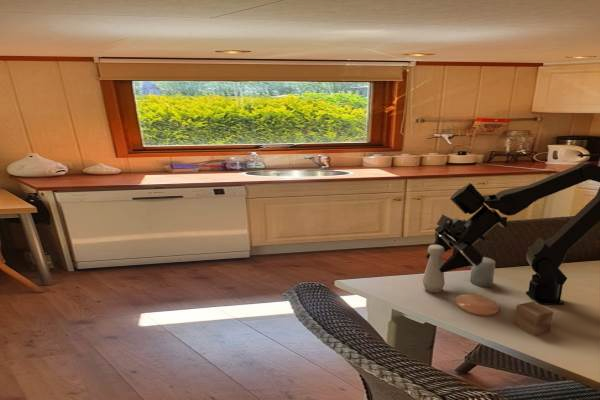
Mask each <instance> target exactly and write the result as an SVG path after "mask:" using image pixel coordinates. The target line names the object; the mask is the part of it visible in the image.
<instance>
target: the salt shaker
mask: <svg viewBox="0 0 600 400" xmlns="http://www.w3.org/2000/svg"><path fill="white" fill-rule="evenodd" d="M428 253H429V254H430V257H429V259H428V262H427V264H426V267H425V271H424V274H423V277H422V283H423V286H424V289H425V291H427V292H428V293H432V294H434V293H435V294H438V293H440V292H441V291H442V289H444V287H445V285H446V283H445V275H444V274H445V272H441V271H440V270H439V269H440V268H441V266H442V265H443V264H444V263H443V256H444V255H445V253H446V252H445V249H444V248H443V246H440V245H434V244H430V245H429V246H428V248H427V254H428Z"/></svg>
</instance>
